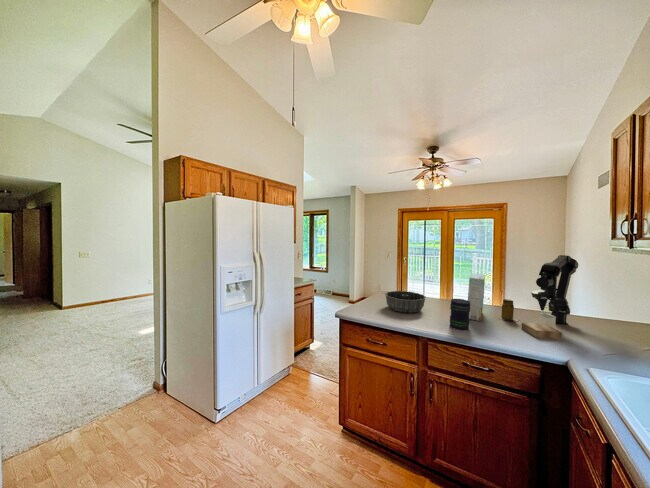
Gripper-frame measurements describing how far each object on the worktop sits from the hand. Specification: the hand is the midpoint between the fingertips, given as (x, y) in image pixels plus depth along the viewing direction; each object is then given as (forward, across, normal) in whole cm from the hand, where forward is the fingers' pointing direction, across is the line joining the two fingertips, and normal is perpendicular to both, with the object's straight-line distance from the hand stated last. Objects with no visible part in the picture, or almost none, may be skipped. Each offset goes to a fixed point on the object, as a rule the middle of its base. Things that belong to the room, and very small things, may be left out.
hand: (547, 313), depth 149 cm
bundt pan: (+8, -20, -76) cm, 79 cm away
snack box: (+8, -14, -33) cm, 37 cm away
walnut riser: (+8, +12, -11) cm, 18 cm away
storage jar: (+8, +9, -51) cm, 53 cm away
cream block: (+8, 0, 0) cm, 8 cm away
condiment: (+8, -10, -15) cm, 20 cm away
